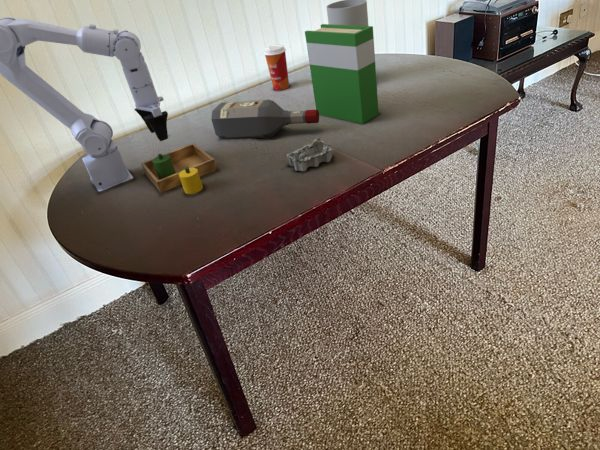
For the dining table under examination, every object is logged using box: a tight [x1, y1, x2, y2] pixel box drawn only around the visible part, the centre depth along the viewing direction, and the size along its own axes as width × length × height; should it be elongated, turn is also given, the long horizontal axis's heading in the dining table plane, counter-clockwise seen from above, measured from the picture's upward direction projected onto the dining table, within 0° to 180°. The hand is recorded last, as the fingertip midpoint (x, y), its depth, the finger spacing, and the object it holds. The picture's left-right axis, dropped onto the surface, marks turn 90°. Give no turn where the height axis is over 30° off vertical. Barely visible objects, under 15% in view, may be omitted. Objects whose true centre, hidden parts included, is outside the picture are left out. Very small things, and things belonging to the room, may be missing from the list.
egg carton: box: [285, 137, 334, 173], centre depth 115 cm, size 11×8×4 cm
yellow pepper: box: [179, 167, 204, 195], centre depth 112 cm, size 5×5×6 cm
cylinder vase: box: [326, 0, 369, 26], centre depth 152 cm, size 12×12×25 cm
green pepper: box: [152, 153, 176, 180], centre depth 119 cm, size 5×5×6 cm
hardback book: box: [304, 23, 380, 125], centre depth 131 cm, size 18×7×24 cm, turn 45°
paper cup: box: [263, 44, 290, 92], centre depth 162 cm, size 8×8×14 cm
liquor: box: [210, 99, 320, 139], centre depth 132 cm, size 9×9×30 cm
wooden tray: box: [140, 142, 218, 194], centre depth 122 cm, size 15×14×4 cm
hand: (159, 135), depth 122 cm, fingers open, 7 cm apart
